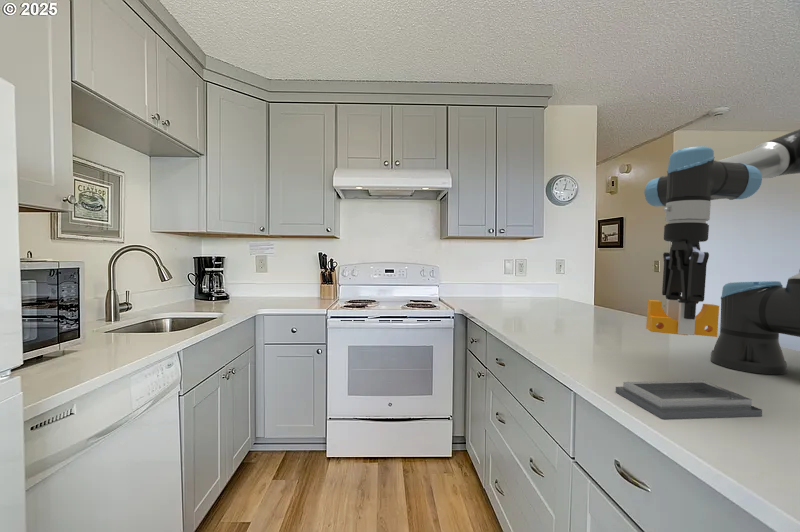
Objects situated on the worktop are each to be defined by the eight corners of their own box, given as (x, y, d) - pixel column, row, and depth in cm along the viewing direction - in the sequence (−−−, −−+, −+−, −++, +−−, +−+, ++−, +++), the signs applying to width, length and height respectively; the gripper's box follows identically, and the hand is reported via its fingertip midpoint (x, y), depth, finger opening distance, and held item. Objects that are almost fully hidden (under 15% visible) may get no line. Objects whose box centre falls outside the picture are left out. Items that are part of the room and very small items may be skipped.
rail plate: (700, 390, 83) (700, 378, 83) (761, 416, 70) (762, 402, 70) (615, 392, 81) (615, 380, 81) (662, 419, 68) (663, 404, 68)
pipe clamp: (651, 331, 80) (653, 301, 79) (646, 328, 84) (647, 299, 83) (720, 338, 75) (723, 307, 75) (711, 334, 79) (714, 304, 79)
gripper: (648, 225, 88) (642, 323, 89) (688, 218, 71) (680, 339, 72) (684, 226, 86) (678, 325, 87) (734, 219, 69) (725, 342, 70)
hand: (679, 331), depth 80 cm, fingers closed on pipe clamp, 5 cm apart
